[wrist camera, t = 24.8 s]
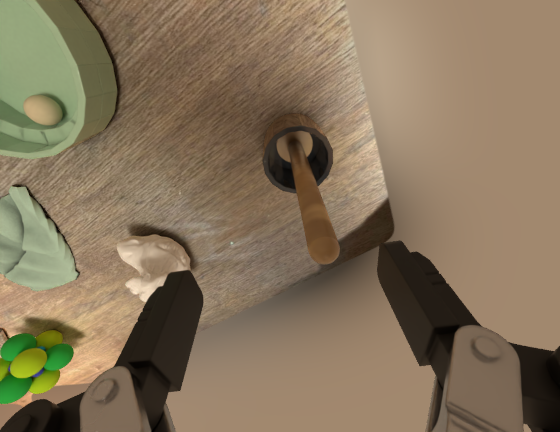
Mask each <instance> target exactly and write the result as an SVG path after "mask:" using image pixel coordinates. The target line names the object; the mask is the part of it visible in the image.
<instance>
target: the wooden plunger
mask: <svg viewBox="0 0 560 432" xmlns="http://www.w3.org/2000/svg"><path fill="white" fill-rule="evenodd" d="M276 144H277V151H278V153H279V155H280V156H281V157H282V158H283V159H284V160H286V161H288V162H291V166H292V171H293V176H294V181H295V186H296V191H297V196H298V201H299V206H300V211H301V216H302V221H303V226H304V231H305V236H306V241H307V246H308V251H309V254H310V256H311V258H312V259H313V260H314V261H315V262H317V263H320V264H329V263H332V262H333V261H335V260H336V258H337V257H338V255H339V251H340V247H339V243H338V240H337V238H336V235H335V232H334V230H333V227H332V224H331V221H330V219H329V216H328V213H327V211H326V208H325V205H324V202H323V200H322V197H321V194H320V192H319V189H318V186H317V183H316V181H315V178H314V175H313V173H312V170H311V167H310V164H309V162H308V159H307V157H308V155H309V154H310V152H311V150H312V146H313V142H312V138H311V135H310V133H308V132H304V131H297V132H291V133H287V134H286V135H284V136H282V137H281V138H279V139H278V140H277V141H276Z"/></svg>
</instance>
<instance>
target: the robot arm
mask: <svg viewBox="0 0 560 432" xmlns="http://www.w3.org/2000/svg"><path fill="white" fill-rule="evenodd" d="M377 272H378V278H379V281H380V284H381V286H382V288H383V290H384V292H385V295H386V297H387V299H388V301H389V303H390V305H391V307H392V309H393V311H394V313H395V315H396V318H397V320H398V322H399V324H400V326H401V328H402V330H403V332H404V335H405V337H406V339H407V341H408V343H409V345H410V347H411V349H412V351H413V353H414V355H415V357H416V360H417V362H418V364H419V366H426V365H431V366H432V368H433V370H434V372H435V374H436V376H435V381H434V387H433V392H432V398H431V403H430V409H429V415H428V420H427V426H426V431H425V432H524V430H523V424H527V425H528V426H529V428H530V429H531V431H532V432H560V346H559V347H558V348H557V349H556V350H555V351H549V350H543V349H538V348H532V347H527V346H522V345H517V344H513V343H510V342H507V341H506V340H505V339H504V338H503V337H501V336H500V335H499V334H497V333H495V332H493V331H491V330H489V329H487V328H484V327H482V326H481V325H480V324H479V323H478V322H477V321H476V320H475V318H474V317H473V316H472V314H471V313H470V312H469V310H468V309H467V308H466V306H465V305H464V304H463V303H462V301H461V300H460V299H459V298H458V296H457V295H456V294H455V292H454V291H453V290H452V288H451V287H450V286H449V284H447V283H446V281H445V279H444V278H443V277H442V275H441V274H439V271H438V270H437V269H436V268H435V266H434V265H433V264H432V262H431V261H430V260H429V259H427V258H426V257H424V256H423V255H421V254H420V253H418V252H411V253H410V252H409V250H408V249H407V248H406V246H405V245H404V243H403V242H402V241H393V242H386V243H381V244H380V246H379V257H378V267H377ZM202 307H203V294H202V291H201V289H200V288H199V286H198V284H197V282H196V280H195V278H194V276H193V275H192V273H191V271H190V270H183V271H176V272H170V273H169V274H168V276H167V278H166V280H165V282H164V284H163V286H159V287H158V288H157V289H156V290H155V291H154V292H153V293H152V294H151V295H150V297H149V298H148V300H147V302H146V304H145V306H144V308H143V312H141V314H140V316H139V318H138V322H136V324H135V326H134V328H133V330H132V332H131V334H130V336H129V338H128V340H127V342H126V344H125V346H124V348H123V350H122V352H121V354H120V356H119V358H118V360H117V362H116V364H115V366H114V367H113V368H111V369H109V370H107V371H105V372H103V373H102V374H101V375H99V376H98V377H97V378H96V379H95V380H94V381H93V382H92V383H91V385H90V386H89V387H88V389H87V390H86V391H85V392H83V393H81V394H79V395H77V396H74V397H72V398H70V399H68V400H66V401H63V402H61V403H59V404H57V405H56V404H54V403H52V402H50V401H48V400H46V399H40V400H36V401H34V402H31V403H30V404H28V405H26V406H25V407H23V408H22V409H20V410H19V411H18V412H17V413H15V414H14V415H13V416H12V417H11V418H10V419H9V420H8V421H7V422H6V423H5V425H4V426H3V427H2V428H1V430H0V432H176V431H175V428H174V425H173V422H172V419H171V416H170V412H169V409H168V407H167V404H166V403H165V402H166V399H167V395H168V392H174V391H180V390H181V386H182V382H183V379H184V375H185V371H186V367H187V363H188V360H189V356H190V352H191V348H192V345H193V341H194V337H195V334H196V330H197V326H198V322H199V319H200V315H201V311H202Z"/></svg>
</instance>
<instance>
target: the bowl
mask: <svg viewBox="0 0 560 432" xmlns="http://www.w3.org/2000/svg"><path fill="white" fill-rule="evenodd" d="M32 95H43V96H46V97H49V98H51V99H53V100H54V101H55V102H56V103H57V104H58V105H59V106H60V108H61V109H62V113H63V116H62V119H61V121H60V122H59V123H57V124H55V125H42V124H39V123H36V122H34V121H33V120H31V119H30V118H29V117H28V116H27V115H26V113H25V111H24V108H23V104H24V101H25V100H26V99H27V98H28V97H30V96H32ZM116 98H117V85H116V80H115V75H114V69H113V64H112V61H111V59H110V57H109V54H108V52H107V50H106V48H105V46H104V44H103V41H102V39H101V37H100V35H99V33H98V31H97V30H96V28H95V27H94V26H93V24H92V23H91V22H90V20H89V19H88V18H87V16H86V15H85V14H84V12H83V11H82V10H81V8H80V7H79V6H78V4H77V3H76V2H75V1H74V0H0V155H4V156H10V157H18V158H26V159H37V158H43V157H49V156H55V155H57V154H59V153H62V152H64V151H66V150H68V149H70V148H72V147H74V146H76V145H78V144H80V143H83V142H85V141H87V140H89V139H91V138H92V137H94V136H95V135H97V134H98V133H100V132H102V131H103V130H104V129H105V128H106V126H107V125H108V123H109V121H110V120H111V118H112V116H113V115H114V112H115V105H116Z"/></svg>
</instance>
